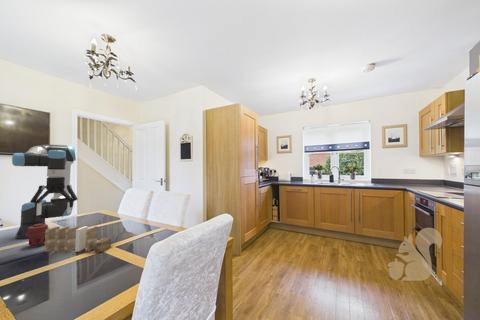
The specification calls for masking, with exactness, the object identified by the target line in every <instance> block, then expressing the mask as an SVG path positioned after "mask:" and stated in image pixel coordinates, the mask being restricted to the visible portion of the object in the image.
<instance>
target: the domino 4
mask: <svg viewBox="0 0 480 320" xmlns="http://www.w3.org/2000/svg"><path fill="white" fill-rule="evenodd" d="M88 228H89V225H88V226H86V225H85V226H82V227H78V229H76V242H75V249H74V252H75V253H77V252H78V253H79V252H81V251H83V250H85V242H86V229H88Z"/></svg>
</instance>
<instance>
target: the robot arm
mask: <svg viewBox="0 0 480 320" xmlns="http://www.w3.org/2000/svg"><path fill="white" fill-rule="evenodd" d="M76 160H77V158H76V149H75V147H74V146H73V145H66V144H65V145H64V144H63V145H62V144H48V143H47V144H39V145H35V146H32V147H30V148H29V149H28V151H26V152H15V153H13V154H12V159H11V164H12V166H14V167H22V168H23V167H47V168H46V177H47V178H46V185H39V186H38V189H37V191H36V192H35V194H34V195H33V196H32V198H31V200H30V201H29V202H26V203H24V204H22V205H21V209H20V226H19V228H18V230H17V232H16V234H15V239H16V240H23V239H24V240H26V239H29V237H26V236H25V234H26V233H27V232H28V227H31V226H33V225H35V224H47V223H46V219H51V218H52V219H53V218H63V217H69V216H71V214H72V212H73V208H74V203H75V202H76V201H78V197H77V195H76V193H75V192H74V189H73V188H72V185H71V165H73V164H74V161H76ZM44 190H46V191H45V192H44V193H43V191H44ZM42 193H43V194H42ZM41 194H42V195H41ZM50 194H53V196H52V197H51V198H50V201H47V200H46V199H45V198H46V197H47V196H48V195H50ZM40 195H41V196H40Z"/></svg>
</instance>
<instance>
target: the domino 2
mask: <svg viewBox="0 0 480 320" xmlns="http://www.w3.org/2000/svg"><path fill="white" fill-rule="evenodd" d="M69 228H70V226H63V227H59V229H56V235H55V249H54V253H59V252H61V251H63V250H64V251H65V237H66V229H69Z"/></svg>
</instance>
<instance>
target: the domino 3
mask: <svg viewBox="0 0 480 320" xmlns="http://www.w3.org/2000/svg"><path fill="white" fill-rule="evenodd" d="M79 228H80V227H79V226H72V227H69V229H66V237H65V249H64V252H65V253H69V252H71V251H73V250H75V242H76V229H79Z"/></svg>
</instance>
